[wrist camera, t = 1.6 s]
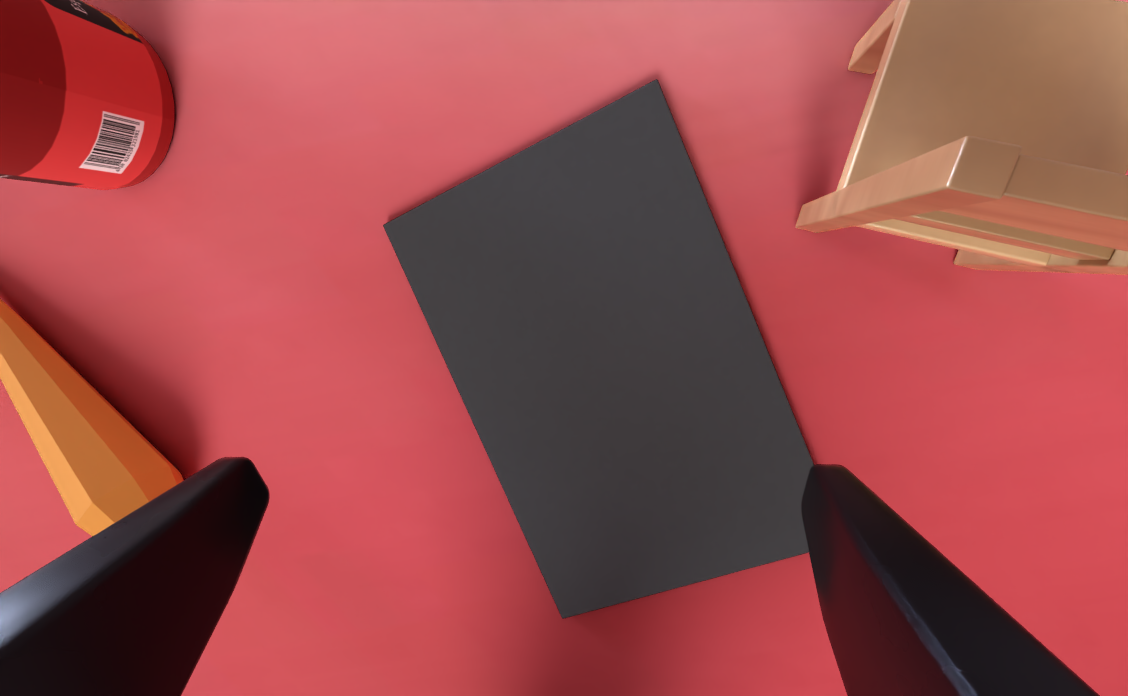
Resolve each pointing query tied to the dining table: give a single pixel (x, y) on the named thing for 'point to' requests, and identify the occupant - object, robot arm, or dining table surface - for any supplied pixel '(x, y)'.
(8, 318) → the carrot
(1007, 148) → the toy chair
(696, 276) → the mat
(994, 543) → the dining table surface
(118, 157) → the canned food
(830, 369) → the dining table surface
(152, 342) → the dining table surface
